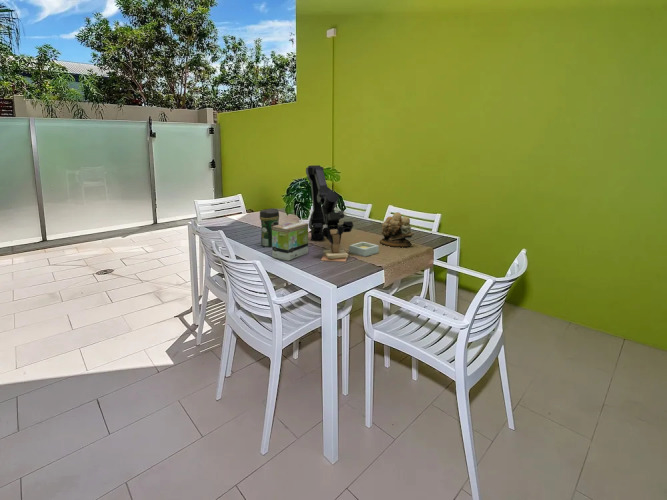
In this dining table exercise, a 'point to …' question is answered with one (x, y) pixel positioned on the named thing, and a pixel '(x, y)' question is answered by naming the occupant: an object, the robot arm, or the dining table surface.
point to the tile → (334, 259)
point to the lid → (335, 249)
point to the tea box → (289, 240)
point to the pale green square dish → (364, 249)
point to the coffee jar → (268, 225)
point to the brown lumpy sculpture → (396, 231)
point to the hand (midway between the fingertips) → (336, 243)
